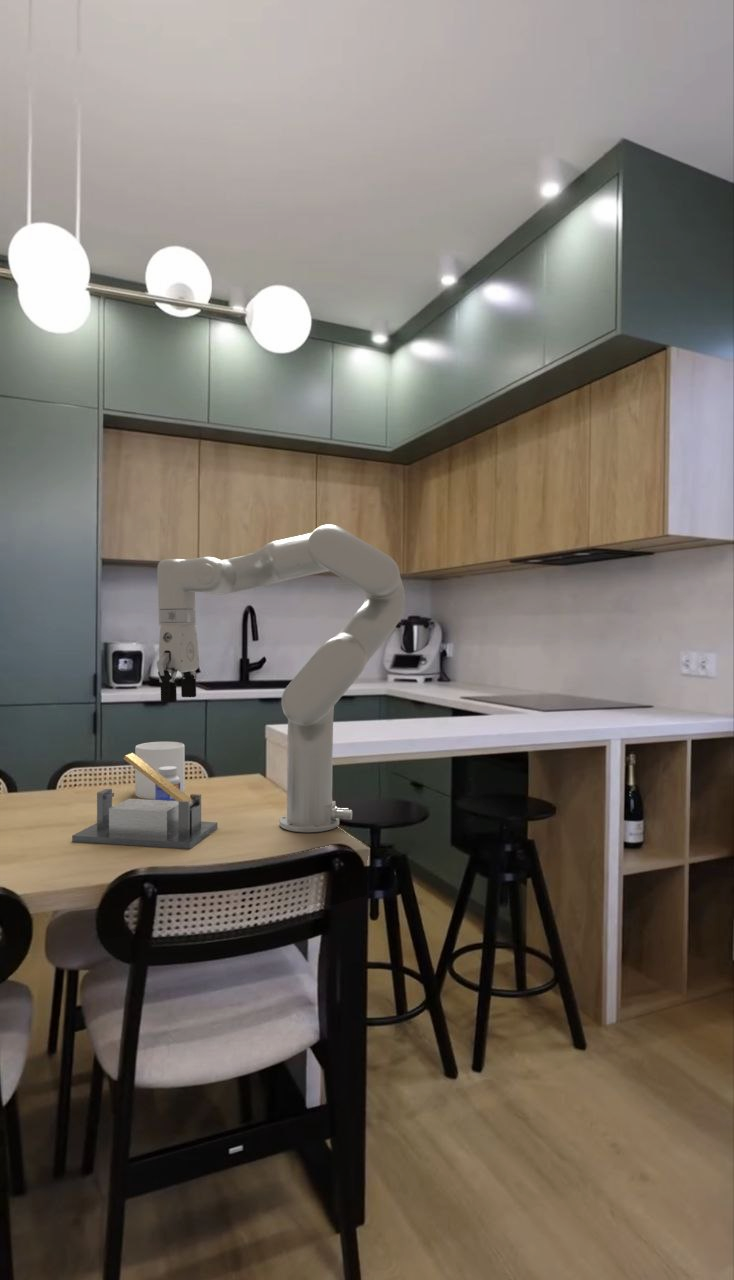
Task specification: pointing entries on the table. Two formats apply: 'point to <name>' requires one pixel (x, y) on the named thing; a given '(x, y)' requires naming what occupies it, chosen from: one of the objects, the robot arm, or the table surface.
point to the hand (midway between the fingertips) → (179, 699)
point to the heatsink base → (144, 839)
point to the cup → (158, 764)
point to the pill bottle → (170, 775)
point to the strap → (158, 779)
